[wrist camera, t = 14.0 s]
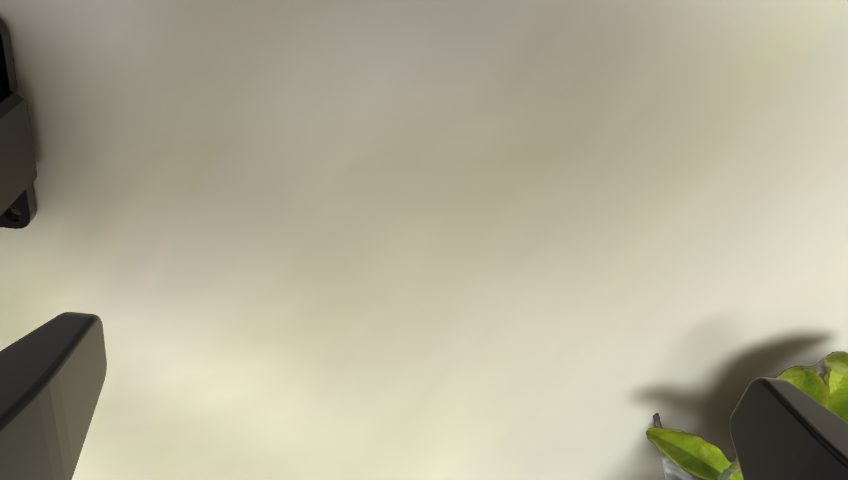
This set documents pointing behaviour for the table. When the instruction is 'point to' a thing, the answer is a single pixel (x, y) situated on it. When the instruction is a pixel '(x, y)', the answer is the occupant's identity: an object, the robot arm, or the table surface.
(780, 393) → the robot arm
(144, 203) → the table surface
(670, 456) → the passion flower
